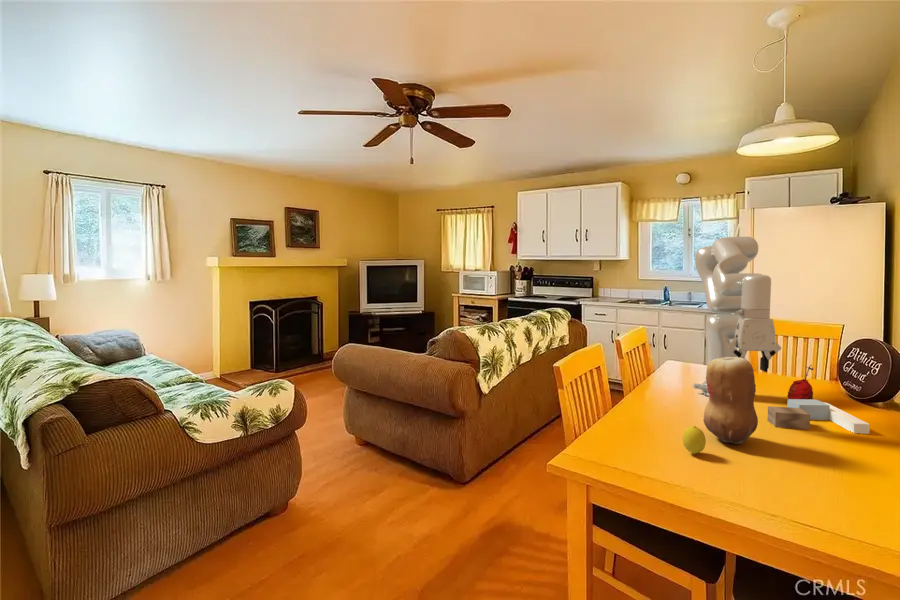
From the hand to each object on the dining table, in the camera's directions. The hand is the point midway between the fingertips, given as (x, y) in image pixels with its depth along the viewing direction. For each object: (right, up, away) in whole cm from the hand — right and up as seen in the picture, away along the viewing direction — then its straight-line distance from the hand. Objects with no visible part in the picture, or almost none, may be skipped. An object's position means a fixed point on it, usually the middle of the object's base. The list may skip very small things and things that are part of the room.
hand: (753, 370), depth 139 cm
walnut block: (+11, -18, 0) cm, 21 cm away
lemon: (-29, -20, -19) cm, 40 cm away
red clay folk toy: (+30, -15, +18) cm, 38 cm away
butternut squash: (-15, -19, -12) cm, 27 cm away
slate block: (+23, -17, +6) cm, 29 cm away
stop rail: (+28, -17, +1) cm, 33 cm away
